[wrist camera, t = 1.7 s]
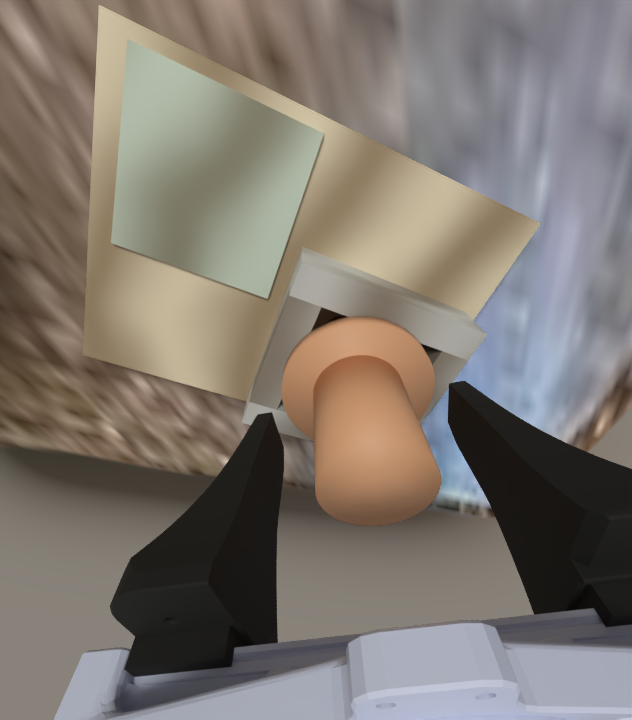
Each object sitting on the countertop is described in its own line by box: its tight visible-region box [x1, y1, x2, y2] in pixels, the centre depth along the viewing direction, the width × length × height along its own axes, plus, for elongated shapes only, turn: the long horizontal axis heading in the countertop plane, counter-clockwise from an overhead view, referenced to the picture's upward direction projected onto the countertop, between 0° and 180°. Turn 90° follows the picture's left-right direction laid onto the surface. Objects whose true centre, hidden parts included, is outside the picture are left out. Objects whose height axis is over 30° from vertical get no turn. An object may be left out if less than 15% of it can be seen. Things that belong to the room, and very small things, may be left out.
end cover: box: [281, 316, 441, 526], centre depth 14 cm, size 7×7×8 cm
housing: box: [83, 5, 541, 442], centre depth 16 cm, size 18×14×4 cm
